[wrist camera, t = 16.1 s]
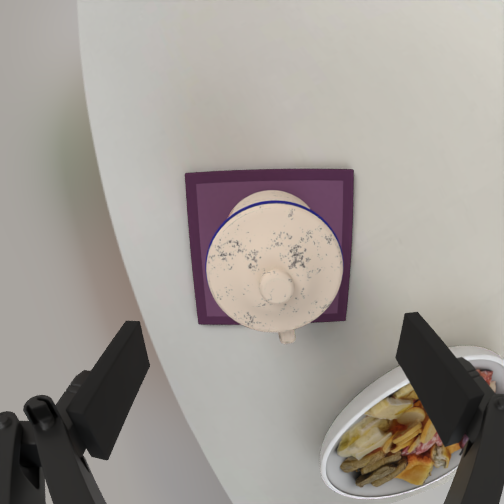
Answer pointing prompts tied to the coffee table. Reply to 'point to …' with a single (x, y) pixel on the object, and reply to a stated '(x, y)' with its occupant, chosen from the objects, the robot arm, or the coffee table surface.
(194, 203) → the place mat
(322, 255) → the teacup with lid
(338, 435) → the bowl
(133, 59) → the coffee table surface
